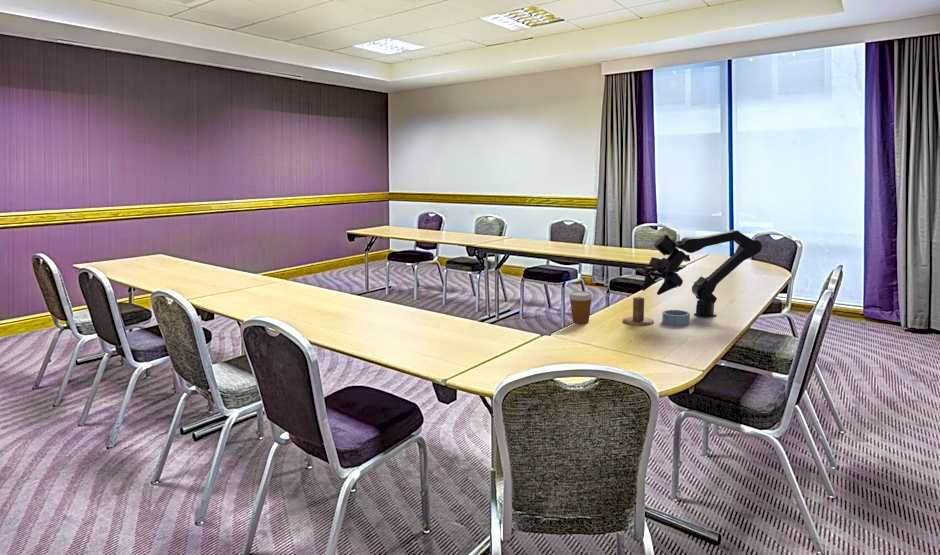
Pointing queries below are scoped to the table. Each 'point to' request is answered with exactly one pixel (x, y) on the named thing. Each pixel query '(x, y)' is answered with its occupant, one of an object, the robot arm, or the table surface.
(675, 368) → the table surface
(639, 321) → the walnut lid
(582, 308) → the disposable coffee cup
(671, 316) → the slate bowl
